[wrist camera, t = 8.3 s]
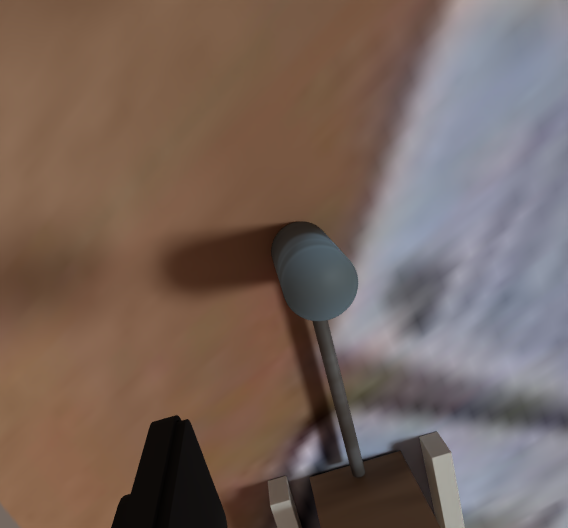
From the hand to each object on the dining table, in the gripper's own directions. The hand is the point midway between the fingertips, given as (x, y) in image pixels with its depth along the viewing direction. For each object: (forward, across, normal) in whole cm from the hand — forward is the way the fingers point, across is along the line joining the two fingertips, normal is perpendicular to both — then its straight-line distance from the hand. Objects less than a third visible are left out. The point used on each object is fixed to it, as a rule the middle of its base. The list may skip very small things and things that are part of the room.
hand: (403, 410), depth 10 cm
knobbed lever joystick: (+15, 0, +10) cm, 19 cm away
